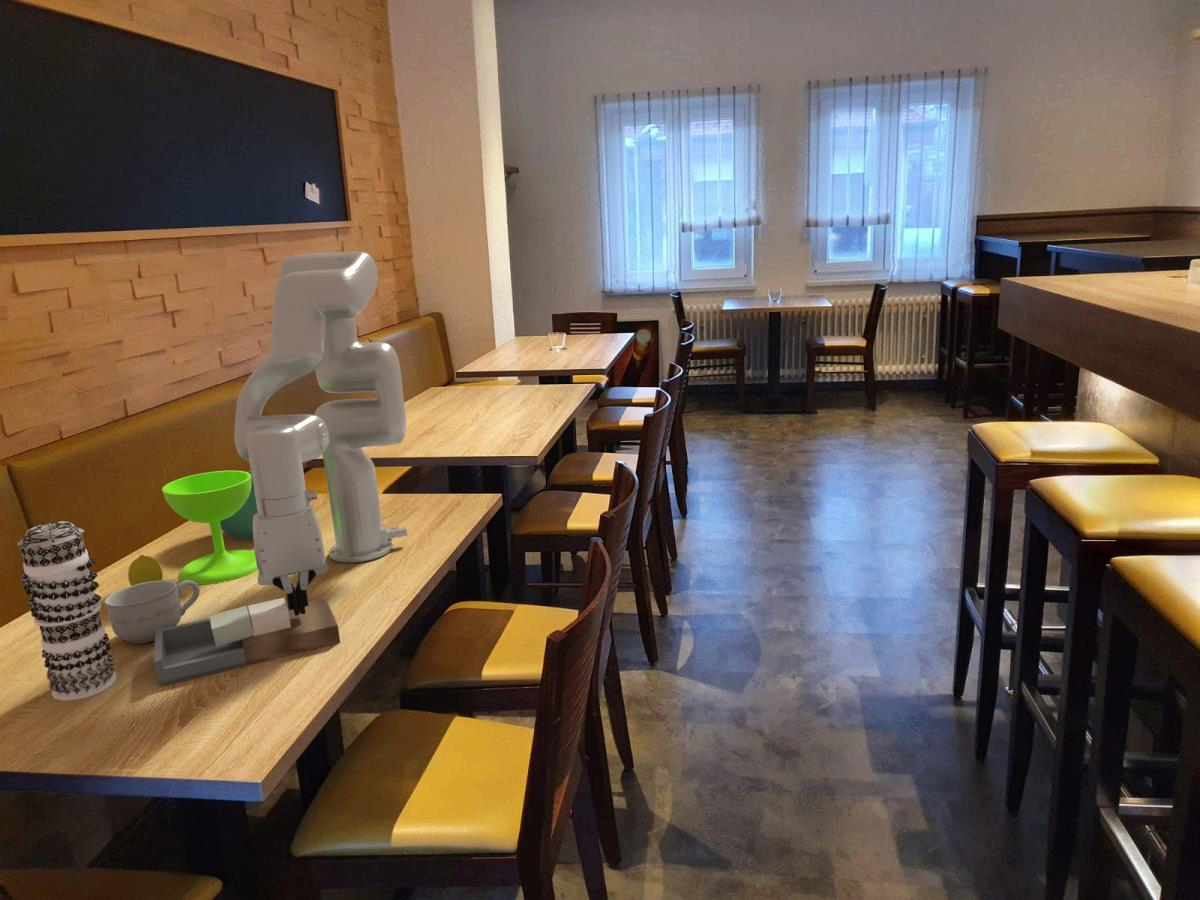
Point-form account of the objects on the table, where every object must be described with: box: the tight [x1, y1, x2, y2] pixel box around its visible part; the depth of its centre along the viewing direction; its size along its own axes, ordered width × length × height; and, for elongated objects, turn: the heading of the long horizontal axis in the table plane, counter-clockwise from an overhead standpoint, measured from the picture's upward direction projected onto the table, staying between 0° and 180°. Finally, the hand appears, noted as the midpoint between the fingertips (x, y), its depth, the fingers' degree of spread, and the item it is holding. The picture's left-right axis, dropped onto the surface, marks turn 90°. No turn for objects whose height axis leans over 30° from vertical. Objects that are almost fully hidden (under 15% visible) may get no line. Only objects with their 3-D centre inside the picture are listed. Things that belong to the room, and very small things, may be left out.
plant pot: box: [220, 470, 258, 541], centre depth 189 cm, size 18×18×12 cm
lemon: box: [127, 554, 164, 586], centre depth 159 cm, size 6×6×8 cm
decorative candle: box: [17, 520, 118, 702], centre depth 124 cm, size 9×9×25 cm
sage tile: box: [209, 605, 254, 647], centre depth 134 cm, size 6×6×3 cm
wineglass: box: [161, 470, 259, 585], centre depth 169 cm, size 16×16×18 cm
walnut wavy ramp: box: [242, 597, 341, 666], centre depth 139 cm, size 14×12×3 cm
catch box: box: [153, 617, 247, 688], centre depth 133 cm, size 12×12×4 cm
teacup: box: [104, 579, 201, 644], centre depth 143 cm, size 14×11×8 cm
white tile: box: [247, 597, 291, 636], centre depth 137 cm, size 6×6×3 cm
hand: (299, 611), depth 139 cm, fingers closed
